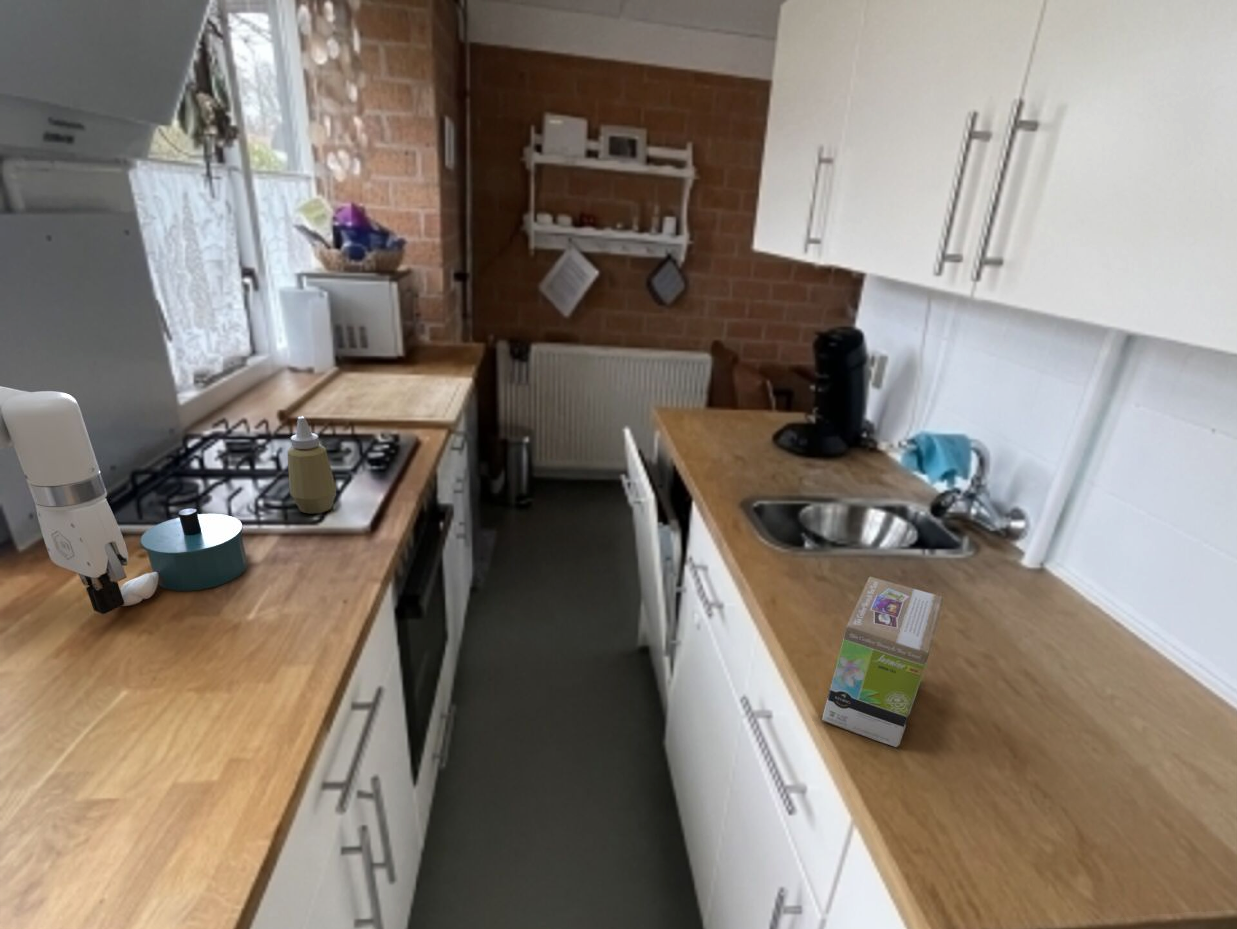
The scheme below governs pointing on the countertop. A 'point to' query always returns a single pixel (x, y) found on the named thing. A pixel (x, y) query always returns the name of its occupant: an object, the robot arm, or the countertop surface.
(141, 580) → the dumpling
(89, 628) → the countertop surface
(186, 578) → the pot
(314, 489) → the squeeze bottle
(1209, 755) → the countertop surface
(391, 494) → the countertop surface
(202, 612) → the countertop surface
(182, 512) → the pot lid
